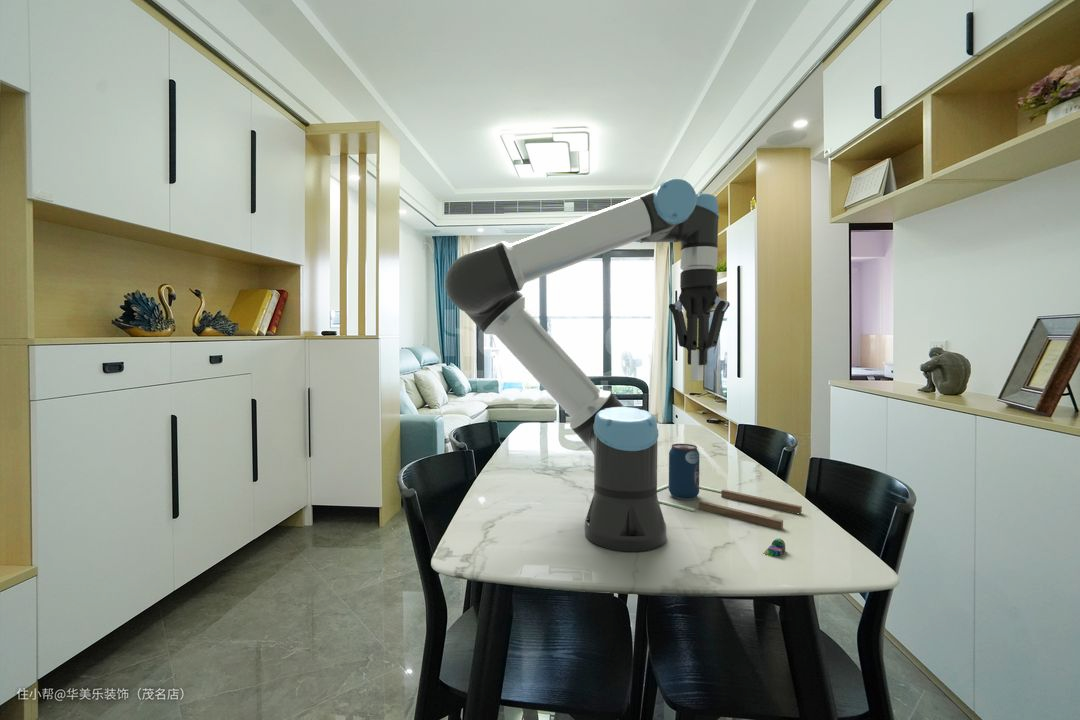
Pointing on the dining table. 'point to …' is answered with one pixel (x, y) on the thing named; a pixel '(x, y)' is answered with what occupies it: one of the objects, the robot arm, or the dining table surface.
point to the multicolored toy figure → (776, 548)
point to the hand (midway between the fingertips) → (697, 380)
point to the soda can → (684, 471)
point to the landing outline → (681, 505)
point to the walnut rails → (747, 515)
